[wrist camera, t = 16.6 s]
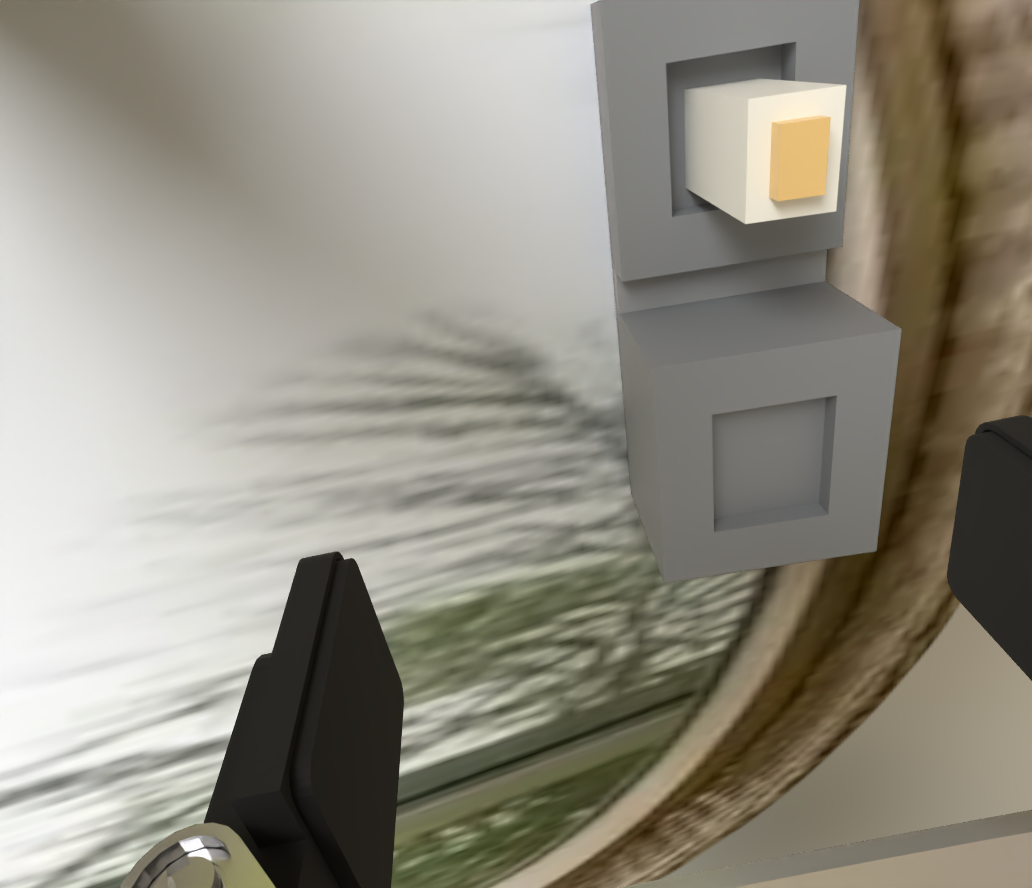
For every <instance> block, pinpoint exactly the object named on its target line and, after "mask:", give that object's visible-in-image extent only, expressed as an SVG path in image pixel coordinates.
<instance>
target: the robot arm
mask: <svg viewBox="0 0 1032 888" xmlns="http://www.w3.org/2000/svg"><path fill="white" fill-rule="evenodd" d="M947 578H948V583H949V586H950V588H951V590H952V592H953V594H954V595H955V597H956V598H957V599H958V600H959V601H960V602H961V604H962V605H963V606H964V607H965V608H966V609H967V610H968V611H969V612H970V613H971V614H972V616H973V617H974V618H975V619H976V620H977V621H978V622H979V623H980V624H981V626H982V627H983V628H984V629H985V630H986V631H987V632H988V633H989V634H990V635H991V636H992V637H993V639H994V640H995V641H996V642H997V643H998V644H999V645H1000V646H1001V647H1002V648H1003V649H1004V651H1005V652H1006V653H1007V654H1008V655H1009V656H1010V657H1011V658H1012V660H1013V661H1014V662H1015V663H1016V664H1017V665H1018V666H1019V667H1020V668H1021V669H1022V671H1023V672H1024V673H1025V674H1026V675H1027V676H1028V677H1029V678H1030V679H1031V680H1032V418H1031V417H1028V416H1015V417H1010V418H1005V419H1000V420H995V421H990V422H985V423H983V424H981V425H979V427H978V428H977V429H976V432H975V435H972V436H970V437H969V438H968V439H967V442H966V445H965V452H964V459H963V466H962V473H961V480H960V487H959V494H958V501H957V508H956V515H955V522H954V529H953V536H952V542H951V549H950V556H949V563H948V570H947ZM403 708H404V696H403V688H402V683H401V680H400V677H399V674H398V672H397V669H396V666H395V664H394V661H393V658H392V656H391V653H390V650H389V648H388V645H387V642H386V640H385V637H384V634H383V632H382V629H381V626H380V624H379V621H378V618H377V616H376V613H375V610H374V608H373V605H372V602H371V600H370V597H369V594H368V591H367V589H366V586H365V583H364V581H363V578H362V575H361V573H360V570H359V567H358V565H357V563H356V561H355V560H354V559H353V558H350V559H345V560H344V558H343V556H342V555H341V554H340V552H331V553H326V554H321V555H316V556H311V557H306V558H302V559H301V560H300V561H299V563H298V566H297V569H296V573H295V576H294V579H293V583H292V586H291V590H290V593H289V597H288V600H287V603H286V607H285V610H284V614H283V617H282V620H281V624H280V627H279V631H278V634H277V638H276V641H275V644H274V648H273V651H272V653H269V654H264V655H261V656H260V657H259V658H258V659H257V660H256V662H255V664H254V666H253V669H252V672H251V675H250V678H249V681H248V684H247V688H246V691H245V694H244V697H243V700H242V703H241V707H240V710H239V713H238V716H237V719H236V722H235V726H234V729H233V732H232V735H231V738H230V741H229V745H228V748H227V751H226V754H225V757H224V760H223V764H222V767H221V770H220V773H219V776H218V779H217V783H216V786H215V789H214V792H213V795H212V798H211V802H210V805H209V808H208V811H207V814H206V817H205V821H204V823H203V824H195V825H192V826H189V827H187V828H184V829H182V830H179V831H177V832H174V833H173V834H171V835H170V836H168V837H167V838H165V839H164V840H162V841H160V842H159V843H157V844H156V845H155V846H154V847H153V848H151V849H150V850H149V851H148V852H147V853H146V854H145V855H144V856H143V857H142V858H141V859H140V860H139V861H138V862H137V863H136V864H135V866H134V867H133V868H132V870H131V871H130V872H129V874H128V875H127V877H126V878H125V879H124V881H123V882H122V884H121V886H120V888H391V879H392V864H393V850H394V836H395V822H396V808H397V793H398V779H399V765H400V751H401V737H402V722H403ZM620 888H1032V810H1028V811H1023V812H1017V813H1012V814H1006V815H1001V816H995V817H990V818H985V819H979V820H974V821H968V822H963V823H957V824H952V825H947V826H941V827H936V828H931V829H925V830H920V831H915V832H909V833H904V834H899V835H893V836H888V837H883V838H877V839H872V840H866V841H861V842H856V843H851V844H845V845H840V846H835V847H829V848H824V849H819V850H813V851H808V852H803V853H798V854H792V855H787V856H782V857H776V858H771V859H766V860H761V861H755V862H750V863H744V864H739V865H735V866H729V867H724V868H719V869H713V870H708V871H703V872H698V873H693V874H688V875H682V876H678V877H672V878H667V879H662V880H656V881H651V882H646V883H641V884H636V885H631V886H625V887H620Z"/></svg>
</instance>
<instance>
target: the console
mask: <svg viewBox="0 0 1032 888" xmlns="http://www.w3.org/2000/svg"><path fill="white" fill-rule="evenodd" d="M858 10H859V0H600V1H597V2H595V3H593V4H591V15H592V27H593V39H594V51H595V63H596V75H597V87H598V99H599V112H600V124H601V136H602V148H603V160H604V172H605V184H606V196H607V208H608V220H609V232H610V244H611V256H612V268H613V280H614V292H615V304H616V316H617V328H618V340H619V353H620V365H621V377H622V389H623V401H624V413H625V425H626V437H627V449H628V461H629V473H630V485H631V494H632V497H633V499H634V502H635V505H636V508H637V510H638V513H639V516H640V518H641V521H642V524H643V527H644V529H645V532H646V535H647V537H648V540H649V543H650V546H651V548H652V551H653V554H654V556H655V559H656V562H657V565H658V567H659V570H660V573H661V575H662V578H663V581H664V583H668V582H675V581H682V580H688V579H695V578H702V577H708V576H715V575H721V574H728V573H735V572H741V571H748V570H755V569H761V568H768V567H775V566H781V565H788V564H794V563H801V562H808V561H814V560H821V559H828V558H834V557H841V556H847V555H854V554H861V553H867V552H874V551H876V550H877V541H878V532H879V524H880V515H881V506H882V497H883V488H884V480H885V471H886V462H887V453H888V444H889V436H890V427H891V418H892V409H893V400H894V392H895V383H896V374H897V365H898V356H899V347H900V339H901V330H902V329H901V328H899V327H897V326H896V325H894V324H893V323H891V322H889V321H888V320H886V319H885V318H883V317H881V316H880V315H878V314H877V313H875V312H874V311H872V310H870V309H869V308H867V307H866V306H864V305H862V304H861V303H859V302H858V301H856V300H855V299H853V298H851V297H850V296H848V295H847V294H845V293H843V292H842V291H840V290H839V289H837V288H836V287H834V286H832V285H831V284H829V283H828V282H826V281H825V278H826V261H827V249H831V248H838V247H842V243H843V229H844V214H845V200H846V185H847V171H848V156H849V141H850V127H851V112H852V98H853V83H854V69H855V54H856V39H857V25H858ZM753 79H773V80H786V81H800V82H813V83H827V84H841V85H846V97H845V109H844V122H843V134H842V146H841V159H840V171H839V183H838V195H837V208H836V211H835V212H828V213H821V214H814V215H806V216H799V217H792V218H785V219H778V220H771V221H764V222H757V223H750V224H744V223H743V222H741V221H739V220H738V219H736V218H734V217H733V216H731V215H730V214H728V213H726V212H725V211H723V210H721V209H720V208H718V207H716V206H715V205H713V204H711V203H710V202H708V201H706V200H705V199H703V198H702V197H700V196H698V195H697V194H695V193H693V192H692V191H690V190H688V189H687V188H686V171H685V103H684V89H690V88H697V87H704V86H711V85H718V84H725V83H732V82H739V81H746V80H753Z"/></svg>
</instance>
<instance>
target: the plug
mask: <svg viewBox="0 0 1032 888" xmlns="http://www.w3.org/2000/svg"><path fill="white" fill-rule="evenodd" d="M845 97H846V85H841V84H827V83H813V82H800V81H786V80H773V79H753V80H746V81H739V82H732V83H725V84H718V85H711V86H704V87H697V88H690V89H684V103H685V171H686V188H687V189H688V190H690V191H692V192H693V193H695V194H697V195H698V196H700V197H702V198H703V199H705V200H706V201H708V202H710V203H711V204H713V205H715V206H716V207H718V208H720V209H721V210H723V211H725V212H726V213H728V214H730V215H731V216H733V217H734V218H736V219H738V220H739V221H741V222H743V223H744V224H750V223H757V222H764V221H771V220H778V219H785V218H792V217H799V216H806V215H814V214H821V213H828V212H835V211H836V208H837V195H838V183H839V171H840V159H841V146H842V134H843V122H844V109H845Z"/></svg>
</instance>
